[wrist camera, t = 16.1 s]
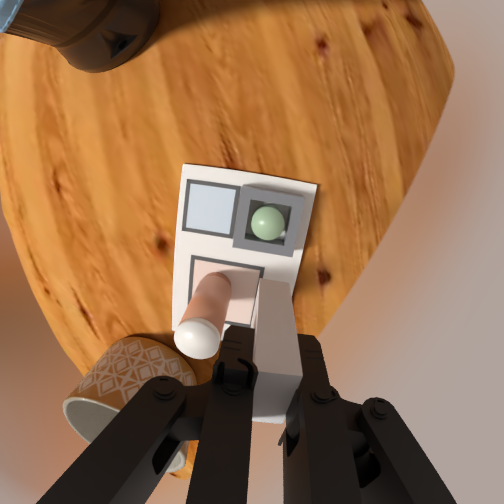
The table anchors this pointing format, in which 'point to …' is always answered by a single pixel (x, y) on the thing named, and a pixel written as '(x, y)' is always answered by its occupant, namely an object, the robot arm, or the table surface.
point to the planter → (123, 386)
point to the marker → (204, 317)
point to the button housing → (292, 225)
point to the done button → (267, 222)
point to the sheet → (229, 238)
